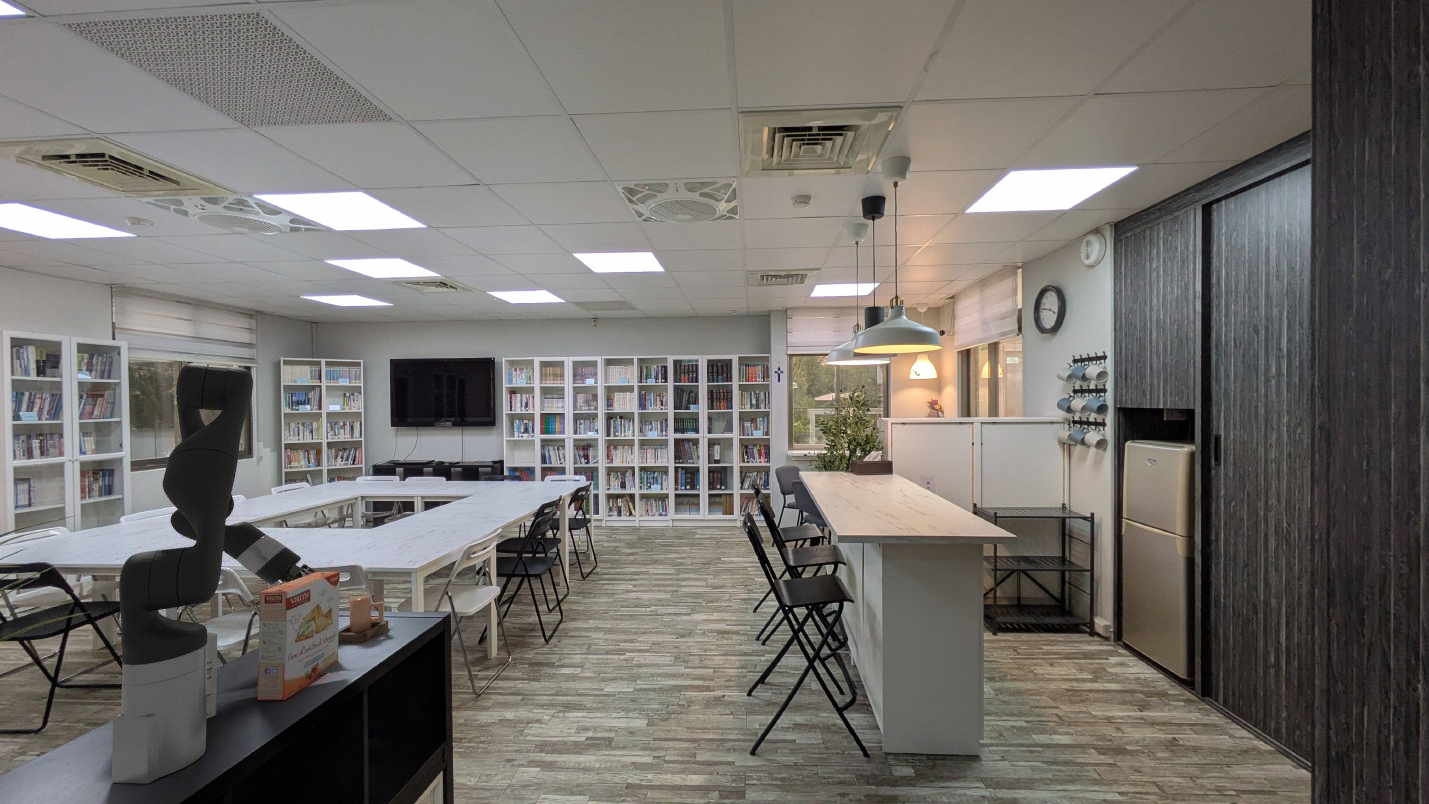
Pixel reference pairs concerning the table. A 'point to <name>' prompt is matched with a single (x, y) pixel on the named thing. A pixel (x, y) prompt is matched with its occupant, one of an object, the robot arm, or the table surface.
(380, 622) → the box
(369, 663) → the table surface
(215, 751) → the table surface
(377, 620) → the terracotta jug
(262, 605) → the cracker box
